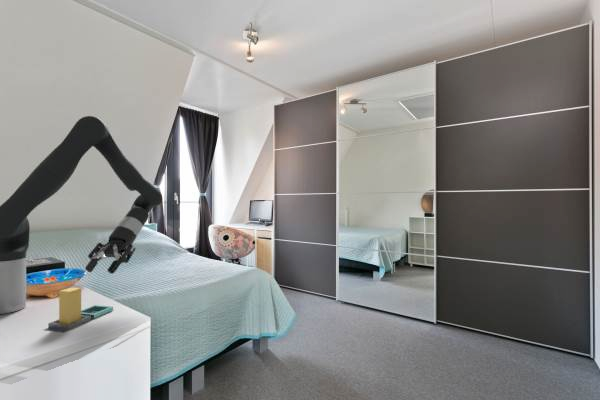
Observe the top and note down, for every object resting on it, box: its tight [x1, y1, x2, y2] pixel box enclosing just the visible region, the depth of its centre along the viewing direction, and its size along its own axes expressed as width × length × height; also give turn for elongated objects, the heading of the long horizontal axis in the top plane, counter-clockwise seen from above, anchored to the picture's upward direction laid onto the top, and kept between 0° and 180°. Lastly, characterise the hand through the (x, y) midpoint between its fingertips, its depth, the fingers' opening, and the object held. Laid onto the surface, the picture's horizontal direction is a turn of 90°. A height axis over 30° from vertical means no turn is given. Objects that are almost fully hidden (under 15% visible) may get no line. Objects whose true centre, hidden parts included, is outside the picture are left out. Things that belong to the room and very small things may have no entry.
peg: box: [58, 286, 82, 324], centre depth 87 cm, size 4×4×10 cm
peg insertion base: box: [43, 304, 114, 334], centre depth 90 cm, size 7×17×2 cm, turn 168°
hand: (98, 271), depth 96 cm, fingers open, 8 cm apart
